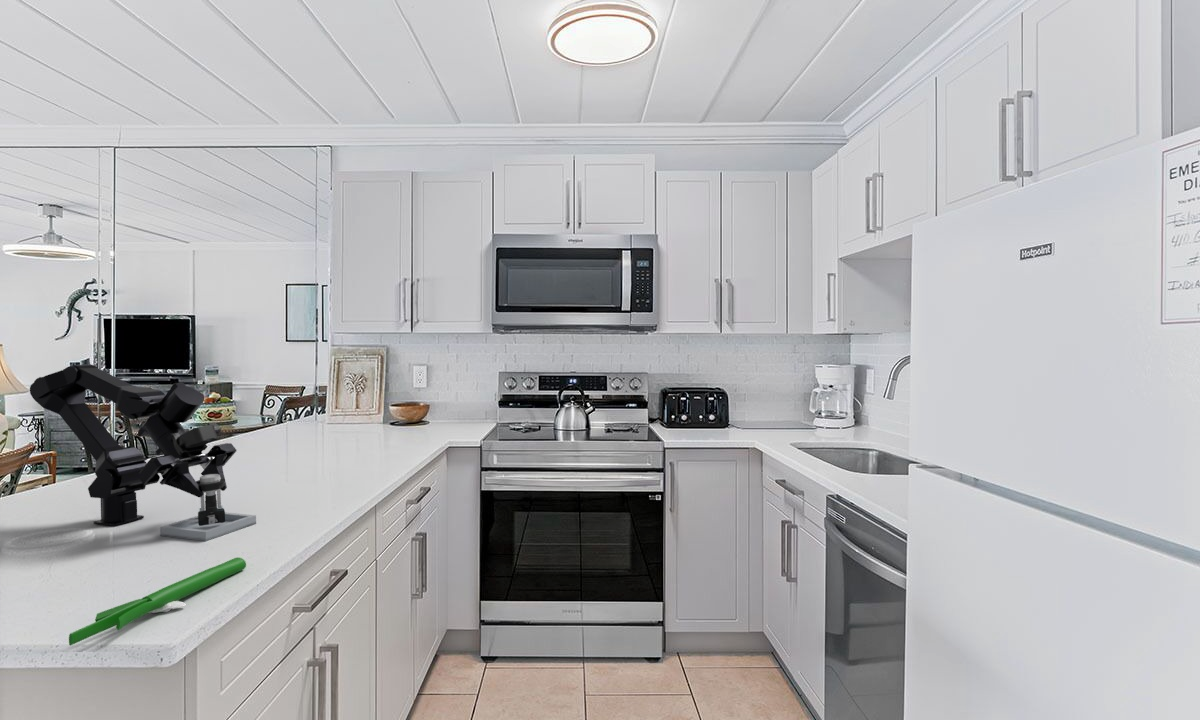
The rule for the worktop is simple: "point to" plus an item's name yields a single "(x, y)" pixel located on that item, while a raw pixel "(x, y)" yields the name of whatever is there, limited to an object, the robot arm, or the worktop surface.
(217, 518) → the push button
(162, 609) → the green onion
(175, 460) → the robot arm
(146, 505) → the worktop surface
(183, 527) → the tray
